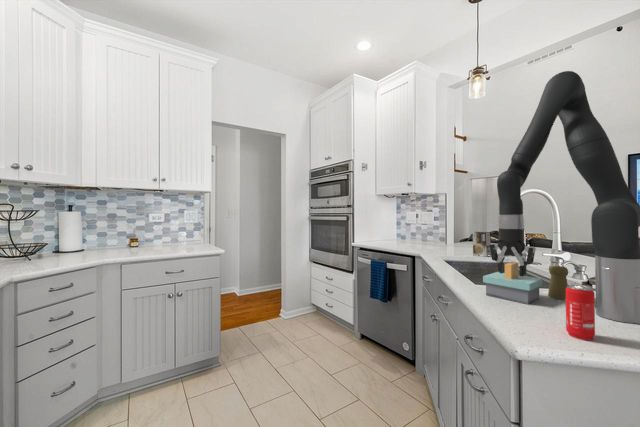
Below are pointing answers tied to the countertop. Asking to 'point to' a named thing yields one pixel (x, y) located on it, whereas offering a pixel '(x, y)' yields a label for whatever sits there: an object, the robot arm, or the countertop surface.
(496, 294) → the tub
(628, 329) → the countertop surface
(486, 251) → the coffee box
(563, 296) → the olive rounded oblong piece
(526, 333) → the countertop surface
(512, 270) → the lid
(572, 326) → the beverage can
